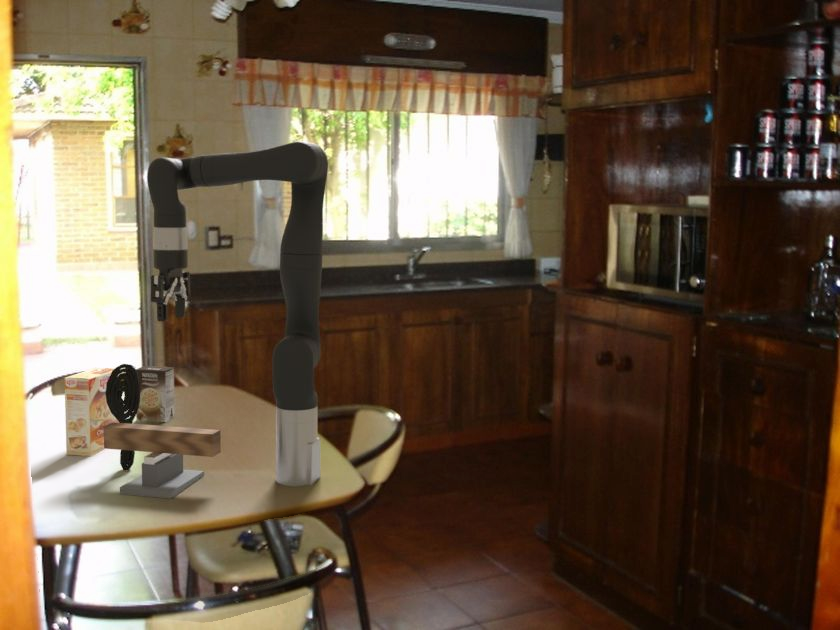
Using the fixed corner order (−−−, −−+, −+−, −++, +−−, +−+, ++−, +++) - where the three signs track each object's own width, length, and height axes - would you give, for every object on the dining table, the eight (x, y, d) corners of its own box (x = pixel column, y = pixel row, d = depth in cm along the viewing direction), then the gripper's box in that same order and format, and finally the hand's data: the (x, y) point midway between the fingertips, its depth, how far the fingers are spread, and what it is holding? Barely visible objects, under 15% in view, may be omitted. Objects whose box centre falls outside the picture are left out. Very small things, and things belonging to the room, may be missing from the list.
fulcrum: (204, 477, 214) (203, 443, 213) (170, 498, 199) (170, 461, 198) (156, 473, 217) (155, 439, 216) (119, 493, 201) (118, 457, 201)
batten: (220, 452, 206) (220, 430, 205) (212, 457, 202) (212, 434, 202) (113, 444, 212) (113, 422, 211) (104, 448, 208) (103, 426, 207)
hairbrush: (147, 468, 221) (145, 363, 218) (140, 472, 217) (138, 366, 214) (114, 466, 222) (111, 362, 219) (107, 470, 218) (104, 365, 215)
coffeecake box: (91, 456, 230) (89, 378, 228) (65, 455, 231) (62, 377, 229) (121, 441, 245) (119, 368, 242) (96, 440, 246) (94, 367, 244)
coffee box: (135, 425, 262) (133, 369, 261) (145, 420, 269) (144, 365, 267) (165, 427, 261) (164, 370, 259) (175, 422, 267) (174, 366, 265)
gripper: (170, 249, 203) (171, 323, 205) (200, 246, 217) (200, 316, 219) (139, 248, 205) (140, 322, 207) (170, 245, 219) (171, 314, 220)
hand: (171, 319), depth 213 cm, fingers open, 8 cm apart
